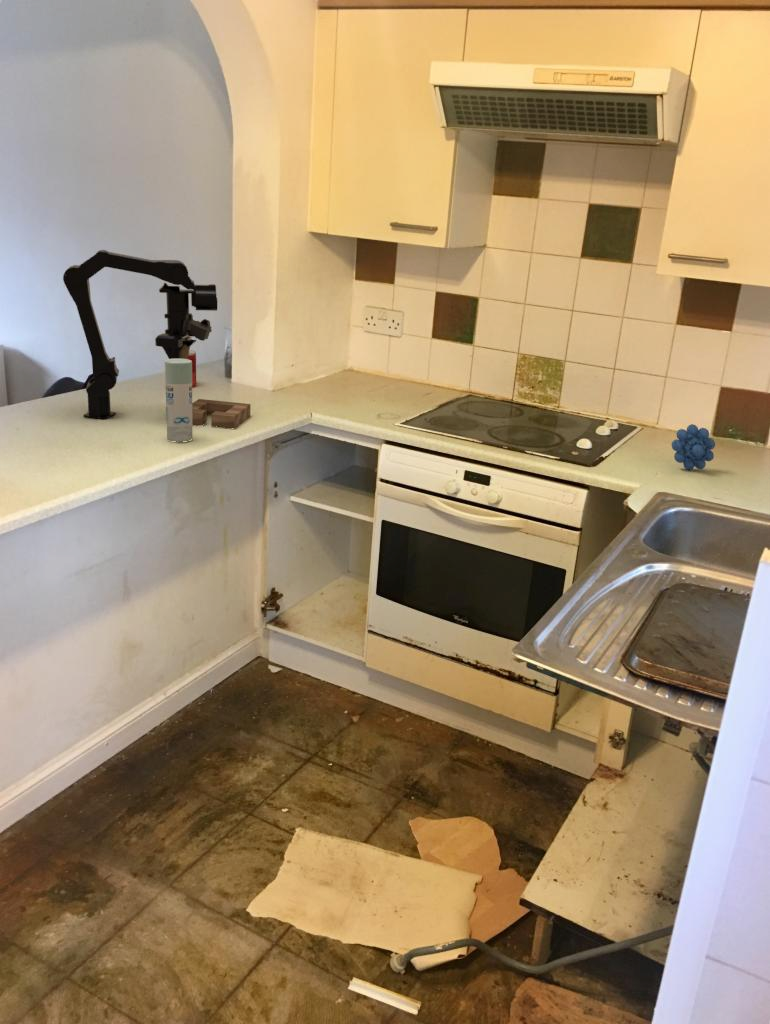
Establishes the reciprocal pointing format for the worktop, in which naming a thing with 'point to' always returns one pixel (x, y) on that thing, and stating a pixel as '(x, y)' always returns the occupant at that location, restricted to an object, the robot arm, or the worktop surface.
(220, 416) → the socket block
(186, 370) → the spray paint can
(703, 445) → the blue knobbed flower
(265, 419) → the worktop surface
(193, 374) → the canned food
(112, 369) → the robot arm
